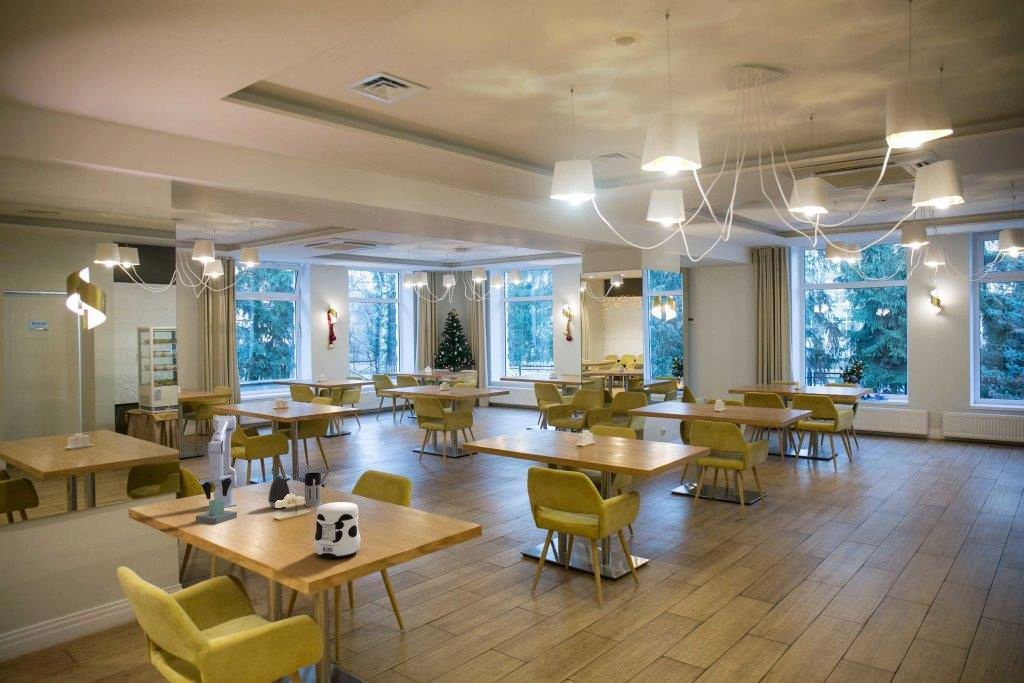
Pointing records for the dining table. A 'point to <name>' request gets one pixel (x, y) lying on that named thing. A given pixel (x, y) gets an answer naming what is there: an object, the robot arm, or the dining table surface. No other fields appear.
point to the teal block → (216, 507)
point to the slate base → (216, 517)
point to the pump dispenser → (278, 490)
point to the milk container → (337, 530)
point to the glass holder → (313, 489)
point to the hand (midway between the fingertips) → (216, 497)
